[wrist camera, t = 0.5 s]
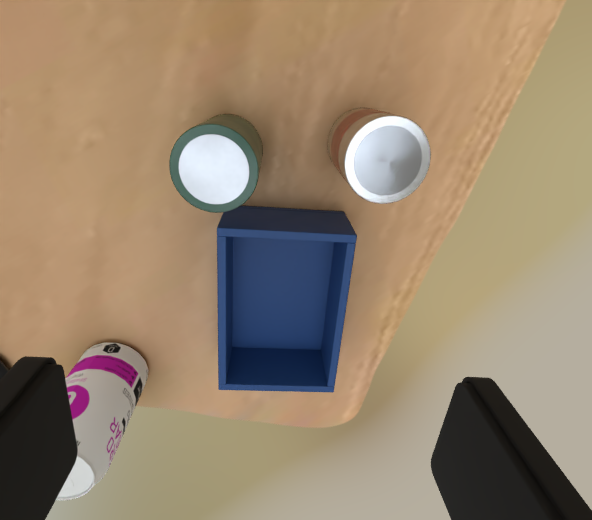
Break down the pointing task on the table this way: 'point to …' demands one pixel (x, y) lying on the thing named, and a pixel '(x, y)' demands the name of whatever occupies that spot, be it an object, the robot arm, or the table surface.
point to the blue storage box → (282, 297)
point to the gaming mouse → (3, 369)
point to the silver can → (379, 154)
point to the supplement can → (101, 409)
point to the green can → (217, 163)
